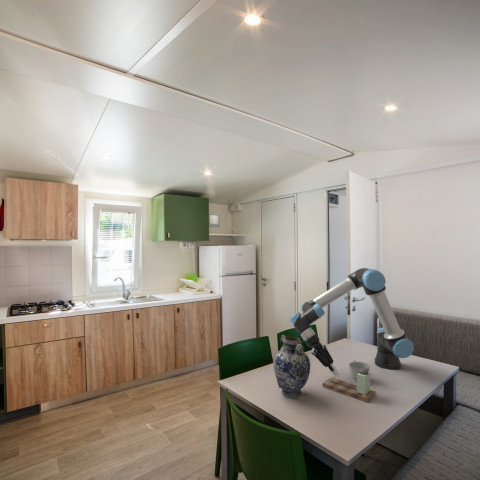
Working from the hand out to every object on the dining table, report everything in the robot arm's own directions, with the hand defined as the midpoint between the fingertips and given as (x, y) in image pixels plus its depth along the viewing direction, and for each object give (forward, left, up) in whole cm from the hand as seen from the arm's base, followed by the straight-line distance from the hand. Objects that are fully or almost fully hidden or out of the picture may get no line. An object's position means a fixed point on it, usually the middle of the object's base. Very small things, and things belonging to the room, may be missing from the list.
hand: (337, 375), depth 167 cm
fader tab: (-6, +12, -4) cm, 14 cm away
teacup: (-19, -7, -6) cm, 21 cm away
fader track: (-3, +5, -6) cm, 8 cm away
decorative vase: (+26, -2, -6) cm, 27 cm away
